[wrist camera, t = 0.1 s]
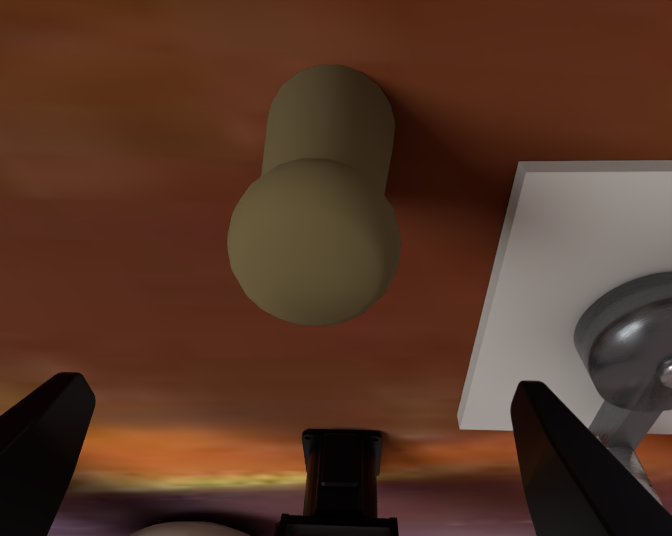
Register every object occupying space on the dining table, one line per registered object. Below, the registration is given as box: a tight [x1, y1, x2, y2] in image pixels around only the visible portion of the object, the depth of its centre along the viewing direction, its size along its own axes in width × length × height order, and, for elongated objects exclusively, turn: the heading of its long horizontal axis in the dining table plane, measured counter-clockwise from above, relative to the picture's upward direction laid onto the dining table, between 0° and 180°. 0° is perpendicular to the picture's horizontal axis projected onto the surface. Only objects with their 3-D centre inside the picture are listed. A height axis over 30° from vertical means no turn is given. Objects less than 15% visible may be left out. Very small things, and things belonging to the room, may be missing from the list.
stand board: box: [457, 160, 672, 434], centre depth 26 cm, size 21×21×2 cm
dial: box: [574, 272, 672, 506], centre depth 24 cm, size 14×8×7 cm, turn 2°
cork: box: [227, 65, 401, 326], centre depth 16 cm, size 6×6×11 cm
